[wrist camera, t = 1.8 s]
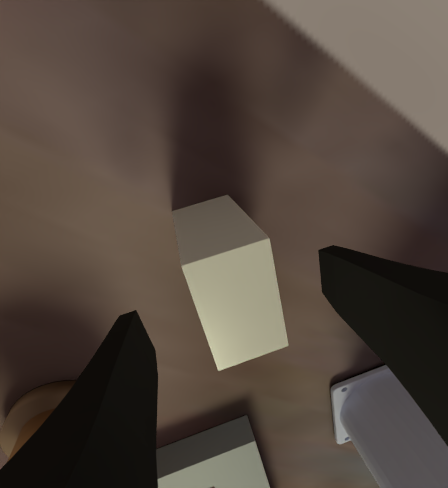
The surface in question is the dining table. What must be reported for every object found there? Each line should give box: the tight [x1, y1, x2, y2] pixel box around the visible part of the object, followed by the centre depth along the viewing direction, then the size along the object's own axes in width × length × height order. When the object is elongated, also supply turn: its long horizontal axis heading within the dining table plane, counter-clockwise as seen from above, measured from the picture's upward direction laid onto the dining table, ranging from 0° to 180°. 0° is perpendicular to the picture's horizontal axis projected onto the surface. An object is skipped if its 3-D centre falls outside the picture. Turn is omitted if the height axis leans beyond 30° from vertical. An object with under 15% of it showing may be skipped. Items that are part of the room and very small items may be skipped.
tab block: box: [172, 195, 288, 371], centre depth 13 cm, size 3×5×6 cm, turn 13°
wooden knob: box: [0, 380, 77, 462], centre depth 16 cm, size 7×7×6 cm
